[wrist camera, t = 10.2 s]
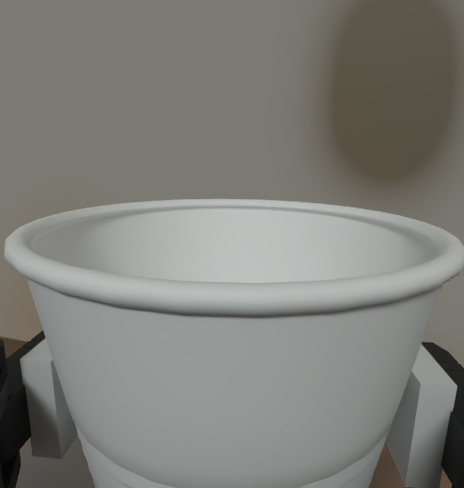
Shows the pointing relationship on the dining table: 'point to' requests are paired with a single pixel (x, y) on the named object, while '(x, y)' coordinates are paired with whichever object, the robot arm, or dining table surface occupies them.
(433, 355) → the robot arm
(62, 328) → the cup
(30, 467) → the dining table surface
